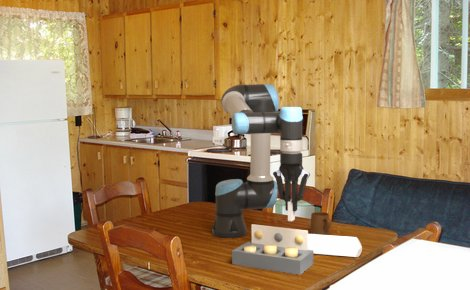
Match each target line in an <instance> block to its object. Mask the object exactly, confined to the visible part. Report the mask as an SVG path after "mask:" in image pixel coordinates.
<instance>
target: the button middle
mask: <svg viewBox="0 0 470 290" xmlns="http://www.w3.org/2000/svg"><path fill="white" fill-rule="evenodd" d="M264 254H268V255H276V254H277V246H276V245H274V244H267V245H264Z"/></svg>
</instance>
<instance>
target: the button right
mask: <svg viewBox="0 0 470 290" xmlns="http://www.w3.org/2000/svg"><path fill="white" fill-rule="evenodd" d="M285 257H289V258H298V248H295V247H287V248H285Z"/></svg>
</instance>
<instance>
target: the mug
mask: <svg viewBox="0 0 470 290" xmlns="http://www.w3.org/2000/svg"><path fill="white" fill-rule="evenodd" d="M331 226H332V220H331V219H330V216H329V213H328V212H323V211H322V212H321V211H318V212H316V211H315V212H312V213H311V215H310V231H311V232H310V234H318V235H329V234H330V228H331Z"/></svg>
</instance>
